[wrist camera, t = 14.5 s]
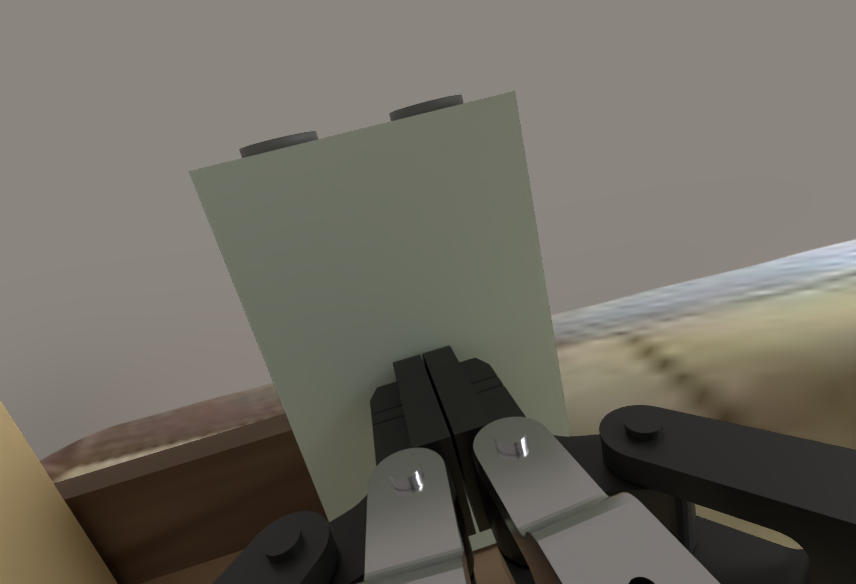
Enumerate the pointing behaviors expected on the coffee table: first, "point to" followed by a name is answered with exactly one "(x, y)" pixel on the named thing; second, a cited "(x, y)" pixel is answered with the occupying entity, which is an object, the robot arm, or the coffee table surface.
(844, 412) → the coffee table surface
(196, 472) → the tile rack
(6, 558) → the tile one
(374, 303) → the tile two
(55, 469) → the coffee table surface
